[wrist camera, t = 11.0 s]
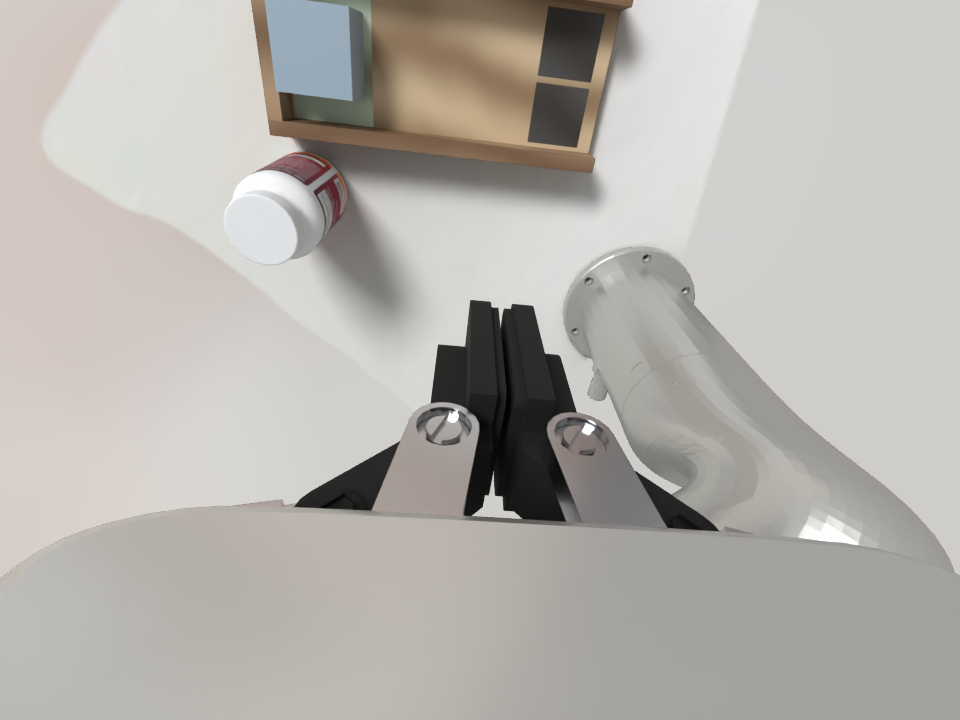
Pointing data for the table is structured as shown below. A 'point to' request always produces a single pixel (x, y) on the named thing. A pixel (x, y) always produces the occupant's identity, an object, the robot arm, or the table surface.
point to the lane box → (464, 80)
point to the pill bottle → (285, 208)
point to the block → (316, 48)
